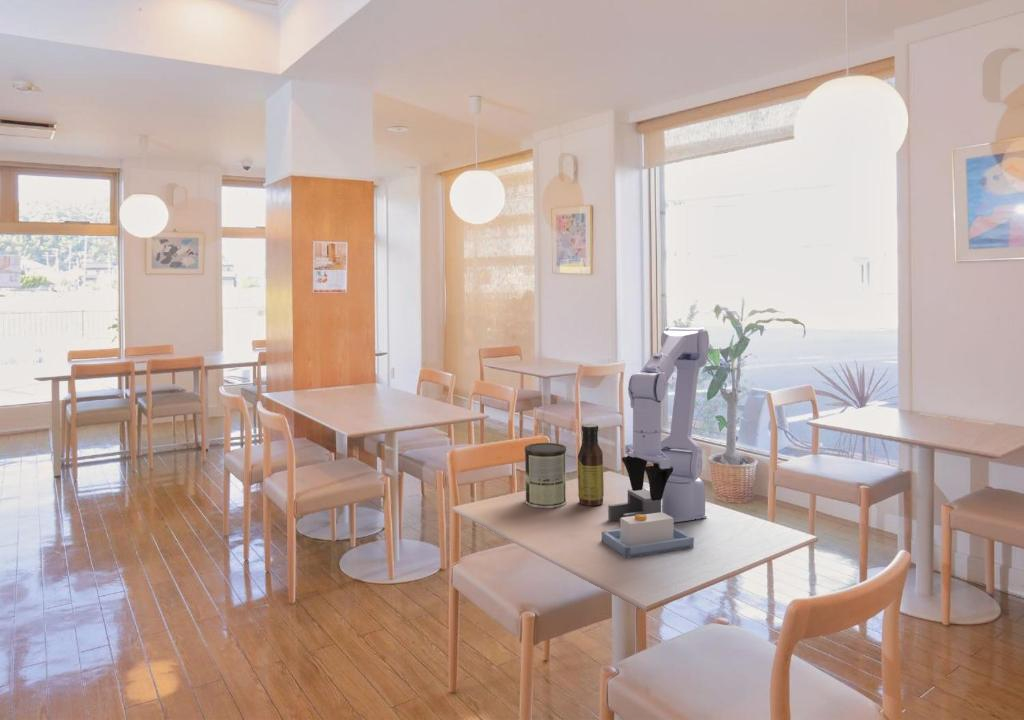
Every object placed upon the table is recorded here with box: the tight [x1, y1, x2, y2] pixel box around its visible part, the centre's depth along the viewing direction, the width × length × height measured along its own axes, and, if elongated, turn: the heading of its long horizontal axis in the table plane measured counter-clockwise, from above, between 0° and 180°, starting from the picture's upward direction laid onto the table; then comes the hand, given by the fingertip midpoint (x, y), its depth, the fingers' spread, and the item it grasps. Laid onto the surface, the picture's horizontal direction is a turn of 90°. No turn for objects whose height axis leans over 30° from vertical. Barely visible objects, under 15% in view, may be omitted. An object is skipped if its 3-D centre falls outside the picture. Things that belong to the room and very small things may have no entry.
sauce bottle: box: [577, 422, 605, 507], centre depth 178 cm, size 6×6×20 cm
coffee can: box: [524, 442, 567, 509], centre depth 179 cm, size 10×10×14 cm
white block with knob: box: [619, 512, 674, 546], centre depth 150 cm, size 10×4×6 cm, turn 110°
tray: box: [601, 526, 695, 559], centre depth 150 cm, size 16×11×2 cm
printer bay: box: [607, 487, 662, 522], centre depth 163 cm, size 9×8×6 cm
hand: (646, 494), depth 150 cm, fingers open, 7 cm apart
